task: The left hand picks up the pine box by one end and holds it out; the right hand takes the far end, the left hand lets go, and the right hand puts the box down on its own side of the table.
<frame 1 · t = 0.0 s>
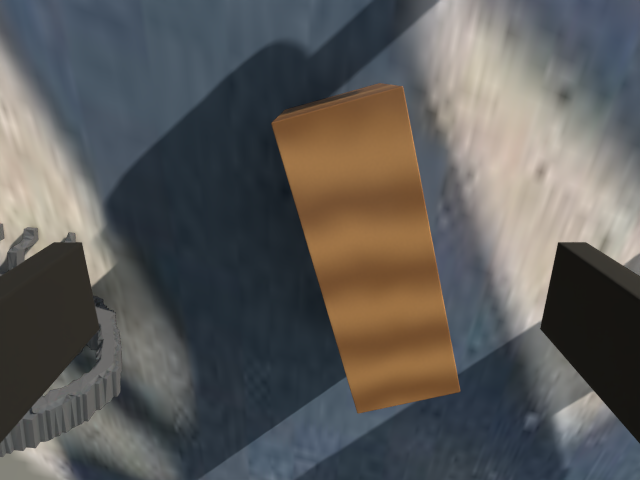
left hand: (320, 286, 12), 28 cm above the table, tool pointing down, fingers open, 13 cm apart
box: (362, 224, 41), on the table
toy: (28, 283, 43), on the table
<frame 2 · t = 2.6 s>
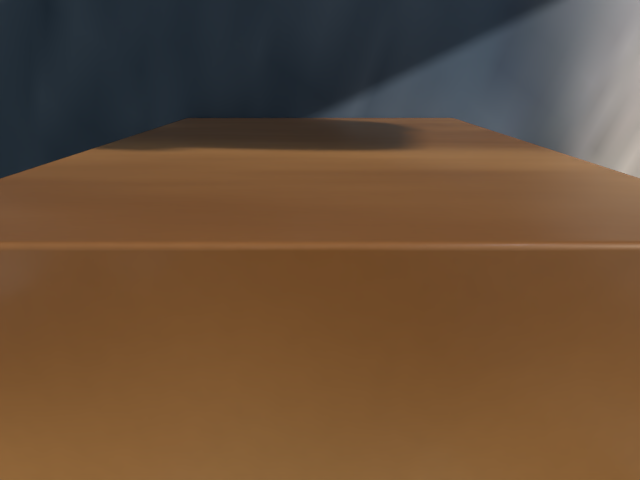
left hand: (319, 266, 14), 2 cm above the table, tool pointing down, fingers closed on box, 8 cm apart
box: (320, 417, 18), on the table, touching left hand
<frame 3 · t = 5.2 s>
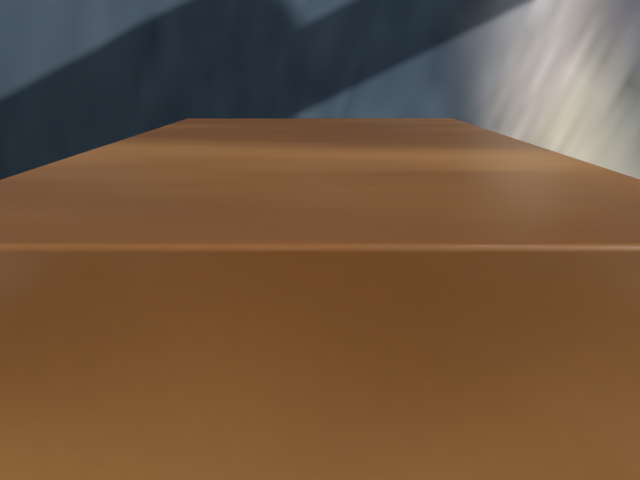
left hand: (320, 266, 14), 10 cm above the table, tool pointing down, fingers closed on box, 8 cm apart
box: (320, 417, 18), point 8 cm above the table, touching left hand
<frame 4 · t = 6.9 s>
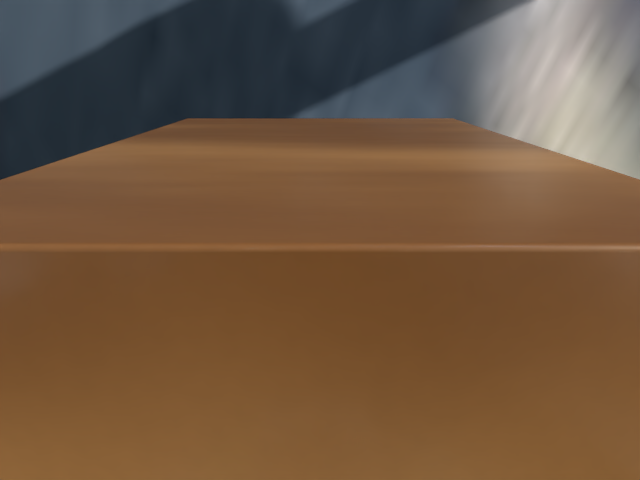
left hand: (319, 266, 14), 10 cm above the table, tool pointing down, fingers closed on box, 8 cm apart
box: (320, 417, 18), point 8 cm above the table, touching left hand, right hand
when the left hand's fingers open (10 cm above the table, at t = 8.0 s): box stays where it is, held by the right hand.
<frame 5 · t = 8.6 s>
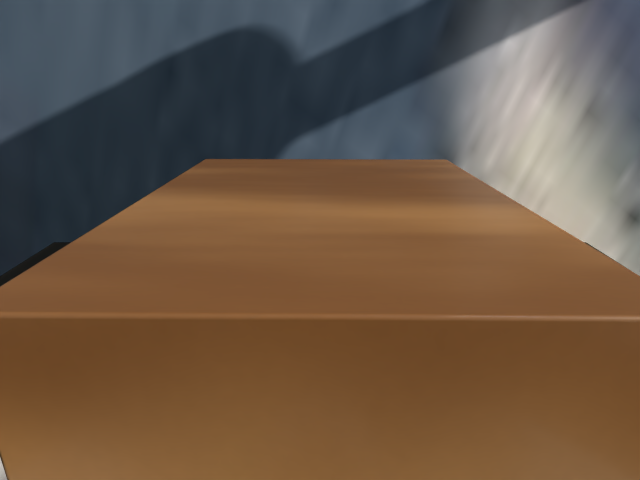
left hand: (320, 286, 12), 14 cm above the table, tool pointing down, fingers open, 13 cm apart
box: (324, 431, 19), point 10 cm above the table, touching right hand
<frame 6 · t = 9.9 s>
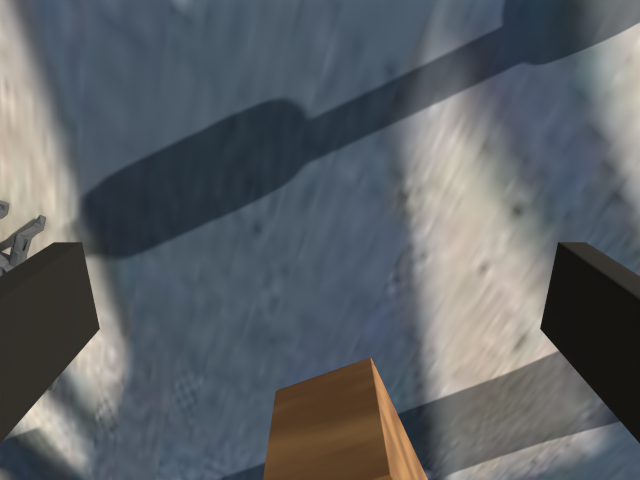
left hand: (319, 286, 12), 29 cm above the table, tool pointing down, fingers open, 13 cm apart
box: (374, 474, 39), point 11 cm above the table, touching right hand
when the right hand's fingers open (3 cm above the table, at t = 13.2 s): box stays where it is, on the table.
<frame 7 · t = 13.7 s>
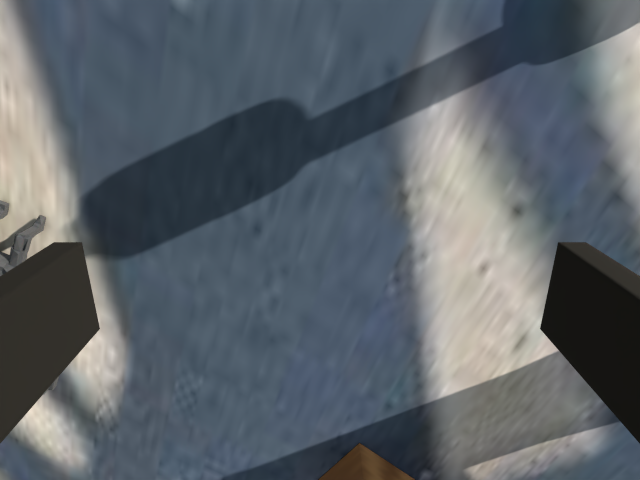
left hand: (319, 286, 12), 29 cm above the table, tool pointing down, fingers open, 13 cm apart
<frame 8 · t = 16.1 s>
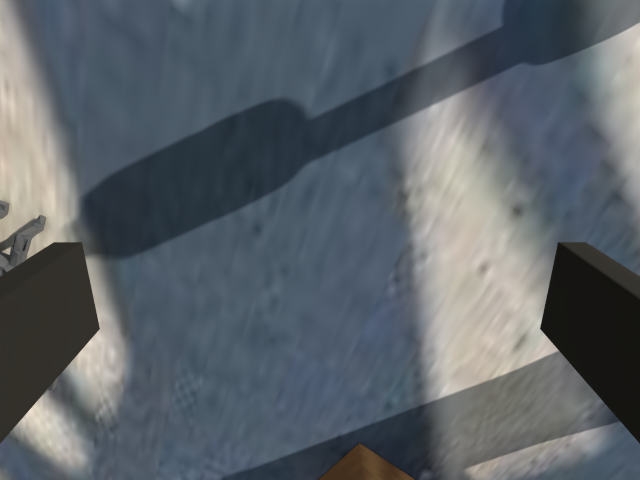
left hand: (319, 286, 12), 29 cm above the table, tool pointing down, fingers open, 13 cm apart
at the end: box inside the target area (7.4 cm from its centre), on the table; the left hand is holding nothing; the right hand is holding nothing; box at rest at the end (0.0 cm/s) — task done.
